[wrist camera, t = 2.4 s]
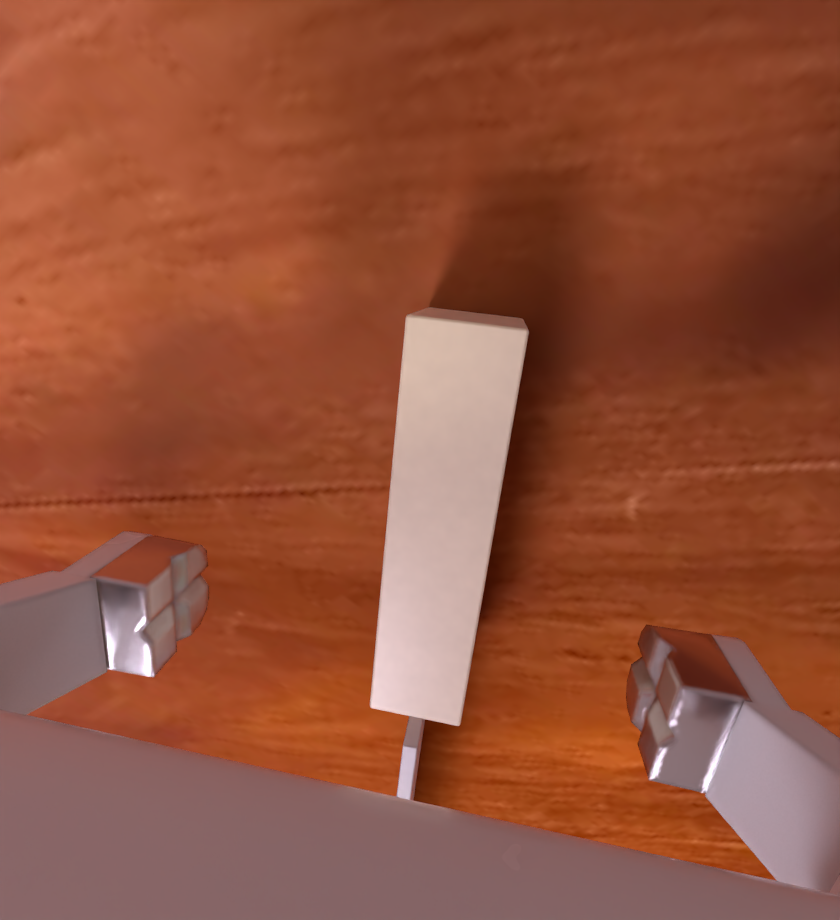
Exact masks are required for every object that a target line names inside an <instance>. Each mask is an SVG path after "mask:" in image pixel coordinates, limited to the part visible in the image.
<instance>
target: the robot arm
mask: <svg viewBox="0 0 840 920" xmlns="http://www.w3.org/2000/svg"><path fill="white" fill-rule="evenodd" d="M207 566H208V560H207V550H206V549H205V548H204V547H203V546H202V545H199V544H194V543H189V542H184V541H179V540H174V539H169V538H164V537H159V536H152V535H150V534H144V533H138V532H132V531H129V532H122V533H120V534H118V535H117V536H115V537H114V538H112V539H111V540H109V541H108V542H106V543H105V544H103V545H101V546H100V547H98V548H97V549H95V550H94V551H92V552H91V553H89V554H87V555H86V556H84V557H83V558H81V559H80V560H78V561H77V562H75V563H74V564H72V565H70V566H69V567H67V568H66V569H64V570H63V571H61V572H56V571H49V572H45V573H41V574H38V575H34V576H30V577H26V578H22V579H18V580H14V581H10V582H7V583H3V584H0V920H840V738H839V737H837V736H836V735H834V734H833V733H831V732H830V731H828V730H827V729H826V728H824V727H823V726H821V725H820V724H818V723H817V722H816V721H814V720H813V719H811V718H810V717H808V716H807V715H805V714H804V713H803V712H799V711H794V710H791V709H790V707H789V706H788V704H787V703H786V701H785V700H784V699H783V697H782V696H781V694H780V693H779V691H778V690H777V688H776V687H775V686H774V684H773V683H772V681H771V680H770V678H769V677H768V675H767V674H766V673H765V671H764V670H763V668H762V667H761V665H760V664H759V662H758V661H757V659H756V658H755V657H754V655H753V654H752V652H751V651H750V649H749V648H748V646H747V645H746V644H745V642H743V641H741V640H740V639H738V638H734V637H727V636H720V635H713V634H703V633H697V632H691V631H684V630H678V629H671V628H665V627H658V626H652V625H646V626H645V627H644V629H643V630H642V632H641V635H640V638H639V641H638V646H639V649H640V652H641V654H642V657H641V658H640V659H638V660H637V661H636V662H634V663H633V664H631V667H630V671H629V675H628V679H627V689H626V701H627V709H628V712H629V716H630V720H631V722H632V723H633V724H634V725H635V726H636V727H637V728H638V729H639V730H640V731H641V735H640V738H639V741H638V746H639V750H640V753H641V756H642V759H643V763H644V766H645V769H646V772H647V776H648V779H649V780H651V781H655V782H660V783H664V784H668V785H672V786H677V787H681V788H685V789H689V790H694V791H698V792H702V793H706V795H705V796H706V798H707V799H708V800H709V801H710V802H711V803H712V805H713V806H714V807H715V808H716V809H717V810H718V812H719V813H720V814H721V815H722V816H723V818H724V819H725V820H726V821H727V822H728V823H729V825H730V826H731V827H732V828H733V829H734V830H735V832H736V833H737V834H738V835H739V836H740V837H741V839H742V840H743V841H744V842H745V843H746V845H747V846H748V847H749V848H750V849H751V850H752V852H753V853H754V854H755V855H756V856H757V857H758V859H759V860H760V861H761V862H762V863H763V865H764V866H765V867H766V868H767V869H768V870H769V872H770V873H771V874H772V875H773V876H774V877H775V879H776V880H777V881H775V880H770V879H766V878H761V877H757V876H752V875H747V874H743V873H738V872H733V871H729V870H724V869H720V868H715V867H710V866H706V865H701V864H696V863H692V862H687V861H683V860H678V859H673V858H669V857H664V856H660V855H655V854H651V853H646V852H642V851H638V850H633V849H629V848H624V847H620V846H615V845H611V844H606V843H602V842H597V841H593V840H588V839H584V838H579V837H575V836H570V835H566V834H561V833H557V832H552V831H548V830H543V829H539V828H535V827H530V826H526V825H521V824H517V823H512V822H508V821H503V820H499V819H494V818H490V817H485V816H481V815H476V814H472V813H467V812H463V811H458V810H454V809H449V808H445V807H440V806H436V805H432V804H427V803H422V802H418V801H413V800H409V799H404V798H400V797H395V796H391V795H386V794H382V793H377V792H372V791H368V790H363V789H359V788H354V787H350V786H345V785H341V784H336V783H332V782H327V781H322V780H318V779H313V778H309V777H304V776H300V775H295V774H291V773H286V772H282V771H277V770H272V769H268V768H263V767H259V766H254V765H250V764H245V763H241V762H236V761H232V760H227V759H222V758H218V757H213V756H209V755H204V754H200V753H195V752H191V751H186V750H182V749H177V748H173V747H168V746H164V745H159V744H155V743H150V742H146V741H141V740H137V739H132V738H128V737H123V736H119V735H114V734H110V733H105V732H101V731H96V730H92V729H87V728H82V727H78V726H73V725H69V724H64V723H60V722H55V721H51V720H46V719H42V718H37V717H33V716H28V715H27V714H28V713H30V712H32V711H34V710H36V709H38V708H40V707H42V706H44V705H45V704H47V703H49V702H51V701H53V700H55V699H57V698H59V697H60V696H62V695H64V694H66V693H68V692H70V691H72V690H74V689H75V688H77V687H79V686H81V685H83V684H85V683H87V682H89V681H91V680H92V679H94V678H96V677H98V676H100V675H102V674H104V673H106V672H107V669H110V670H115V671H121V672H127V673H132V674H138V675H144V676H149V677H155V675H156V674H157V673H158V672H159V671H160V670H161V669H162V668H163V666H164V665H165V664H166V663H167V662H168V661H169V660H170V659H171V657H172V656H173V655H174V654H175V653H176V652H177V643H176V641H179V640H181V639H183V638H185V637H188V636H190V635H192V634H193V632H194V631H195V630H196V629H197V628H198V626H199V625H200V624H201V621H202V619H203V617H204V615H205V613H206V610H207V606H208V600H209V586H208V584H207V583H206V582H205V580H204V579H203V577H202V576H201V574H202V572H203V571H204V570H205V569H206V568H207Z"/></svg>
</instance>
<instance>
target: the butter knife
mask: <svg viewBox="0 0 840 920" xmlns="http://www.w3.org/2000/svg"><path fill="white" fill-rule="evenodd" d="M528 335H529V331H528V328H527V326H526V324H525V322H524V320H523V319H522V318H516V317H507V316H499V315H491V314H482V313H474V312H465V311H457V310H449V309H440V308H432V307H429V308H426V309H423V310H420V311H417V312H414V313H411V314H408V315H407V316H406V321H405V332H404V343H403V353H402V364H401V375H400V386H399V396H398V407H397V418H396V429H395V440H394V450H393V461H392V472H391V483H390V493H389V504H388V515H387V526H386V536H385V547H384V558H383V569H382V579H381V590H380V601H379V612H378V622H377V633H376V644H375V655H374V665H373V676H372V687H371V698H370V707H371V708H374V709H378V710H383V711H388V712H393V713H398V714H402V715H407V716H409V720H408V725H407V729H406V734H405V739H404V743H403V750H402V758H401V765H400V773H399V781H398V789H397V797H400V798H404V799H409V800H414V793H415V786H416V779H417V772H418V765H419V758H420V751H421V744H422V737H423V730H424V723H425V719H426V720H431V721H436V722H441V723H446V724H450V725H455V726H459V725H460V724H461V719H462V713H463V707H464V702H465V696H466V690H467V684H468V679H469V673H470V667H471V662H472V656H473V650H474V644H475V639H476V633H477V627H478V621H479V616H480V610H481V604H482V599H483V593H484V587H485V581H486V576H487V570H488V564H489V558H490V553H491V547H492V541H493V536H494V530H495V524H496V518H497V513H498V507H499V501H500V495H501V490H502V484H503V478H504V473H505V467H506V461H507V455H508V450H509V444H510V438H511V432H512V427H513V421H514V415H515V410H516V404H517V398H518V392H519V387H520V381H521V375H522V369H523V364H524V358H525V352H526V347H527V341H528Z"/></svg>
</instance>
